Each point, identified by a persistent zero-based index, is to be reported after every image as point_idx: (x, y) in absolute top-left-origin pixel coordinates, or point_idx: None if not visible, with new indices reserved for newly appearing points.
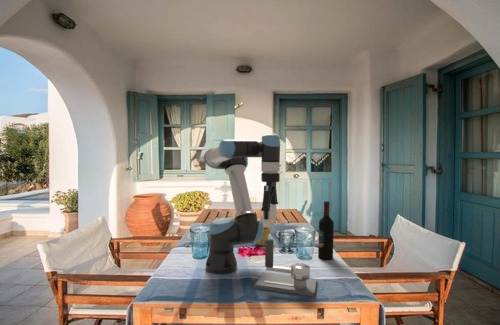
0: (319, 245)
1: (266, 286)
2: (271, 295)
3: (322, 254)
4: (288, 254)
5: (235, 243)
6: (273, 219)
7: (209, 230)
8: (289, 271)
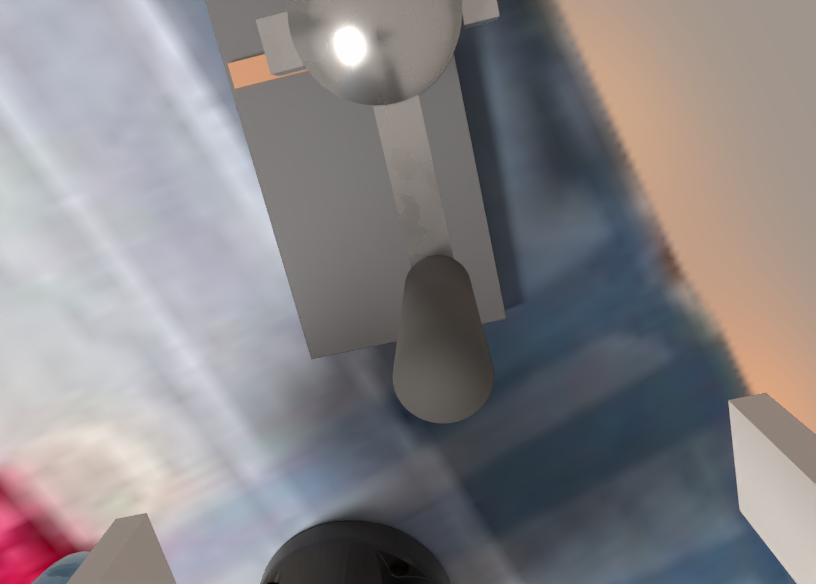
0: None
1: (491, 247)
2: (542, 184)
3: None
4: None
5: None
6: (161, 553)
7: None
8: (421, 108)
